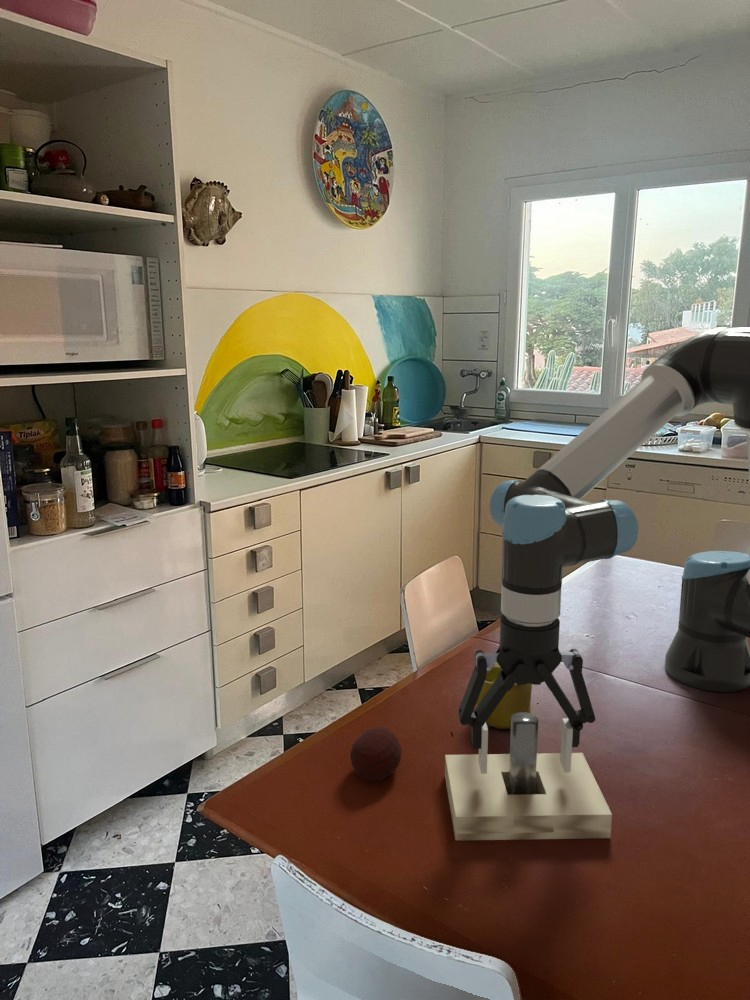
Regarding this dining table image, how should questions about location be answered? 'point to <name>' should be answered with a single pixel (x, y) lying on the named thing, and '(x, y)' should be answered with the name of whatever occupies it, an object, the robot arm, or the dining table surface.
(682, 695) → the dining table surface
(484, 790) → the block
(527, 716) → the pin
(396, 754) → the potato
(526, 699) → the mug
